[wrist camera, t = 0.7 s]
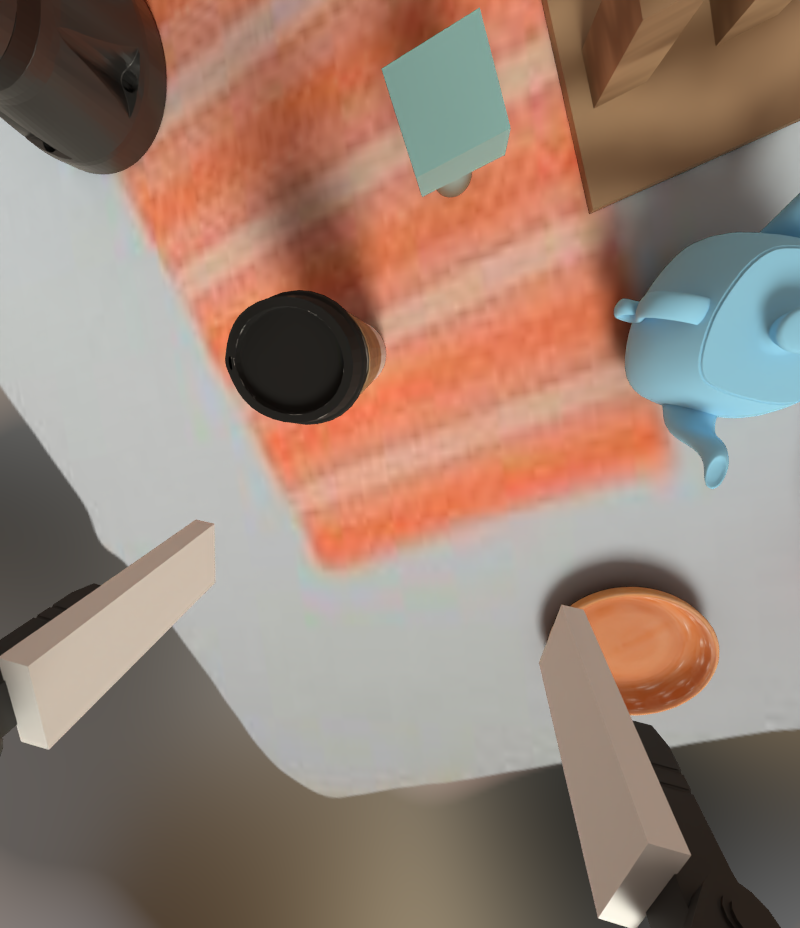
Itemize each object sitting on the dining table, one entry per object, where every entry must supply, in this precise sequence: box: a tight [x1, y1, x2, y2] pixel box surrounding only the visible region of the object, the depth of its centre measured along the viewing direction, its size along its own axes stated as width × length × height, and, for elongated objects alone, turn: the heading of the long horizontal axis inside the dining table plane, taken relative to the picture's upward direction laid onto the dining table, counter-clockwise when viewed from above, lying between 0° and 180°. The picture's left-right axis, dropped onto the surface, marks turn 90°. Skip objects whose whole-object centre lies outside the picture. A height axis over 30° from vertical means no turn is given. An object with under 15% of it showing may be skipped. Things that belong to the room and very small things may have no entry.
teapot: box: [614, 193, 800, 489], centre depth 26 cm, size 15×14×11 cm
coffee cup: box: [225, 290, 386, 425], centre depth 29 cm, size 8×8×15 cm
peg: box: [382, 8, 511, 197], centre depth 26 cm, size 6×6×10 cm
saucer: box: [549, 587, 719, 715], centre depth 40 cm, size 16×16×3 cm
